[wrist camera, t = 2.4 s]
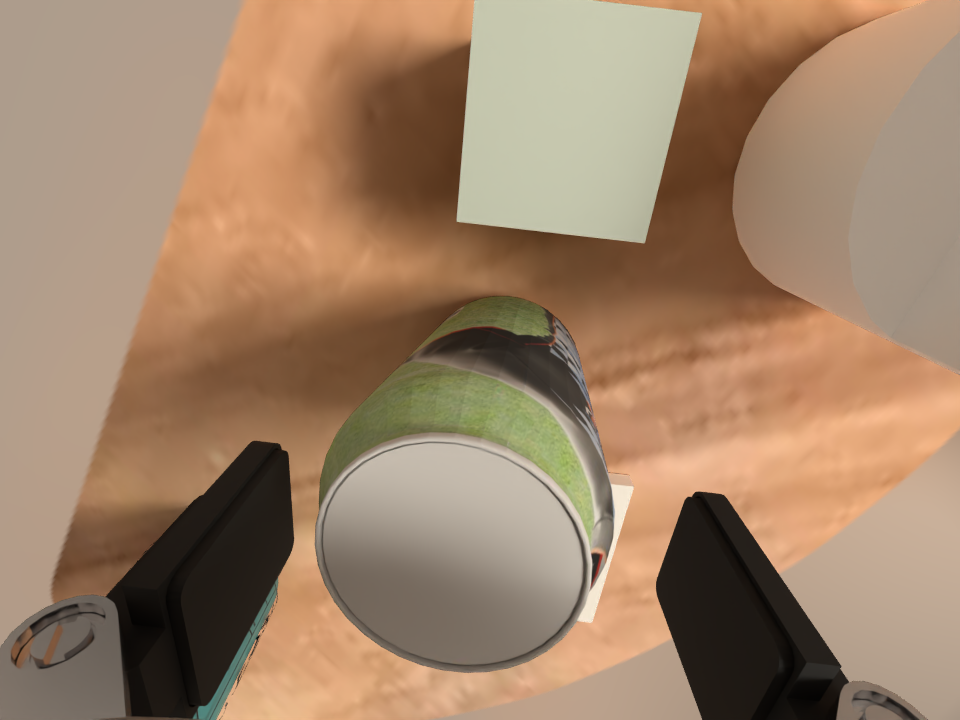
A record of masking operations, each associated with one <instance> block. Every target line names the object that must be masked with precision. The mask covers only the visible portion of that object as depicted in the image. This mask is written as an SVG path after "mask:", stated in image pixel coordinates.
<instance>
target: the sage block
mask: <svg viewBox="0 0 960 720" xmlns="http://www.w3.org/2000/svg"><path fill="white" fill-rule="evenodd" d="M701 16H702V13H697V12H689V11H680V10H671V9H663V8H654V7H645V6H637V5H628V4H620V3H611V2H602V1H594V0H474V12H473V25H472V37H471V49H470V62H469V74H468V86H467V99H466V111H465V123H464V136H463V148H462V160H461V173H460V185H459V197H458V209H457V222H463V223H472V224H481V225H489V226H498V227H507V228H515V229H524V230H533V231H541V232H550V233H559V234H568V235H576V236H585V237H594V238H602V239H611V240H620V241H628V242H637V243H645V240H646V236H647V232H648V228H649V224H650V220H651V216H652V212H653V208H654V204H655V200H656V196H657V192H658V188H659V184H660V180H661V176H662V172H663V168H664V164H665V160H666V156H667V152H668V148H669V144H670V140H671V136H672V132H673V128H674V124H675V120H676V116H677V112H678V108H679V104H680V100H681V96H682V92H683V88H684V84H685V80H686V76H687V72H688V68H689V64H690V60H691V56H692V52H693V48H694V44H695V40H696V36H697V32H698V28H699V24H700V20H701Z"/></svg>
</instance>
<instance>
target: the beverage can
mask: <svg viewBox="0 0 960 720" xmlns="http://www.w3.org/2000/svg"><path fill="white" fill-rule="evenodd" d="M614 519H615V508H614V501H613V494H612V487H611V482H610V478H609V474H608V470H607V466H606V462H605V458H604V454H603V450H602V446H601V442H600V438H599V434H598V430H597V426H596V422H595V418H594V414H593V410H592V406H591V402H590V398H589V394H588V390H587V386H586V382H585V378H584V374H583V370H582V366H581V362H580V358H579V354H578V351H577V349H576V346H575V343H574V341H573V339H572V337H571V335H570V334H569V332H568V330H567V329H566V328H565V327H564V325H563V324H562V323H561V322H560V321H559V319H557V318H556V317H555V316H554V315H553V314H551V313H550V312H549V311H548V310H546V309H544V308H543V307H541V306H539V305H537V304H536V303H533V302H530V301H527V300H524V299H521V298H515V297H509V296H493V297H488V298H482V299H479V300H476V301H473V302H471V303H468V304H466V305H465V306H463V307H461V308H460V309H458V310H456V311H455V312H454V313H453V314H452V315H450V316H449V317H448V318H447V319H446V320H445V321H444V322H443V323H442V324H441V325H440V326H439V327H438V328H437V329H436V330H435V331H434V332H433V333H432V334H431V335H430V336H429V337H428V338H427V339H426V340H425V341H424V342H423V343H422V344H421V345H420V346H419V347H418V348H417V349H416V350H415V351H414V352H413V353H412V354H411V355H410V356H409V357H408V358H407V359H406V360H405V361H404V362H403V363H402V364H401V365H400V366H399V367H398V368H397V369H396V370H395V371H394V372H393V373H392V374H391V375H390V376H389V377H388V378H387V379H386V380H385V381H384V382H383V383H382V384H381V385H380V386H379V387H378V388H377V389H376V390H375V391H374V392H373V393H372V394H371V395H370V396H369V397H368V398H367V399H366V400H365V401H364V402H363V403H362V404H361V405H360V406H359V407H358V408H357V409H356V410H355V411H354V412H353V413H352V414H351V416H350V417H349V418H348V419H347V421H346V422H345V423H344V425H343V426H342V427H341V429H340V430H339V431H338V433H337V434H336V436H335V438H334V440H333V443H332V445H331V447H330V449H329V451H328V453H327V455H326V458H325V462H324V466H323V470H322V474H321V478H320V491H319V514H318V518H317V522H316V529H315V549H316V556H317V562H318V566H319V569H320V572H321V575H322V578H323V581H324V584H325V586H326V587H327V589H328V591H329V593H330V595H331V596H332V598H333V600H334V602H335V603H336V604H337V606H338V607H339V608H340V610H341V611H342V612H343V613H344V615H345V616H346V617H347V619H348V620H349V621H351V622H352V623H353V624H354V625H355V626H356V627H357V628H358V629H359V630H360V631H361V632H362V633H363V634H364V635H366V636H367V637H368V638H370V639H371V640H373V641H374V642H375V643H377V644H378V645H380V646H381V647H383V648H385V649H386V650H388V651H390V652H392V653H394V654H396V655H398V656H399V657H402V658H404V659H407V660H409V661H412V662H415V663H417V664H420V665H423V666H427V667H431V668H435V669H440V670H445V671H454V672H463V673H471V672H490V671H496V670H501V669H507V668H511V667H514V666H517V665H519V664H522V663H525V662H528V661H530V660H532V659H534V658H536V657H538V656H539V655H541V654H543V653H545V652H547V651H548V650H549V649H551V648H552V647H553V646H554V645H556V644H557V643H558V642H559V641H561V640H562V639H563V638H564V637H565V635H566V634H567V633H568V632H569V631H570V629H571V628H572V627H573V626H574V625H575V623H576V622H577V620H578V618H579V616H580V614H581V612H582V610H583V609H584V607H585V605H586V601H587V597H588V594H589V592H590V590H591V589H592V588H593V586H594V585H595V583H596V581H597V579H598V577H599V576H600V574H601V572H602V570H603V568H604V566H605V564H606V562H607V558H608V555H609V551H610V548H611V544H612V541H613V534H614Z"/></svg>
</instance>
